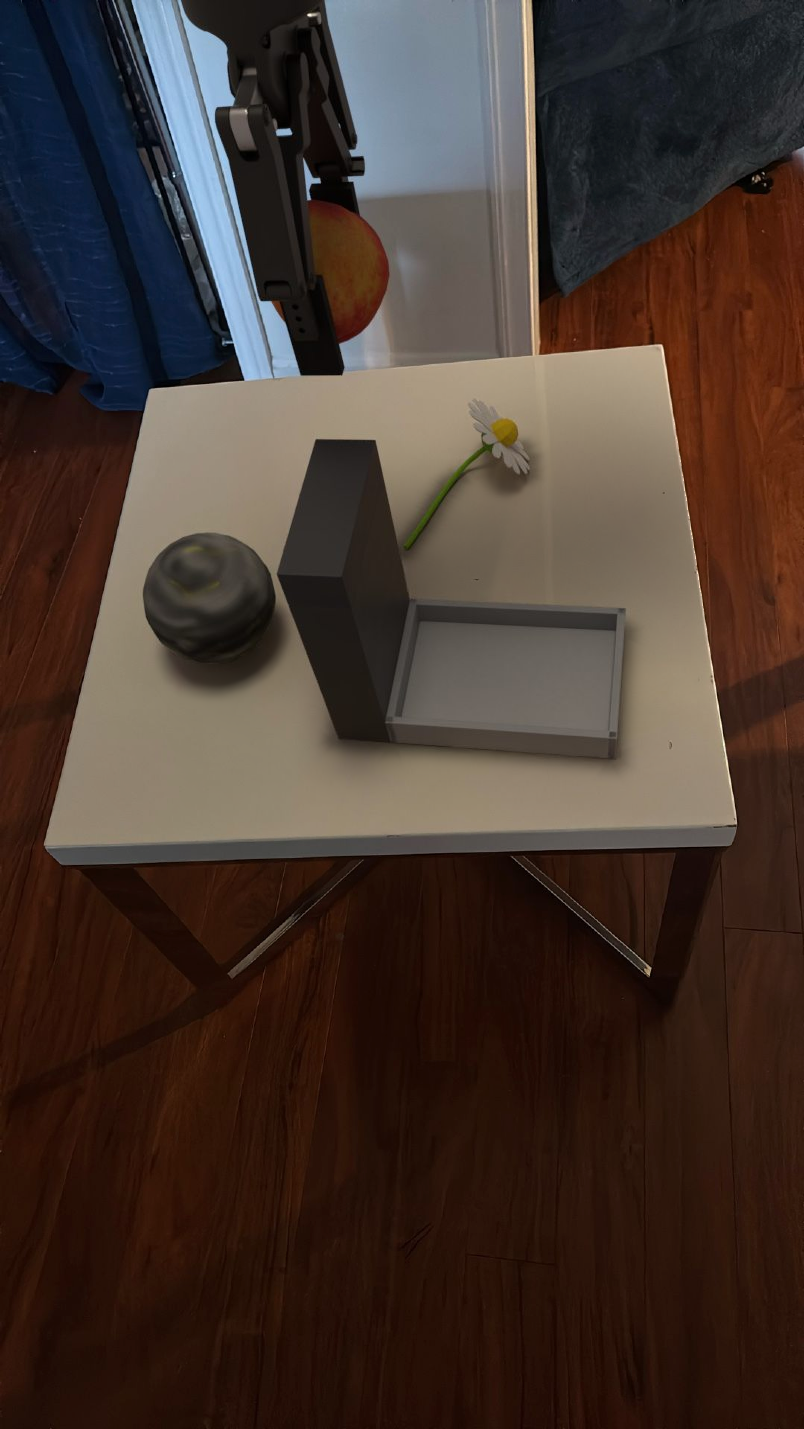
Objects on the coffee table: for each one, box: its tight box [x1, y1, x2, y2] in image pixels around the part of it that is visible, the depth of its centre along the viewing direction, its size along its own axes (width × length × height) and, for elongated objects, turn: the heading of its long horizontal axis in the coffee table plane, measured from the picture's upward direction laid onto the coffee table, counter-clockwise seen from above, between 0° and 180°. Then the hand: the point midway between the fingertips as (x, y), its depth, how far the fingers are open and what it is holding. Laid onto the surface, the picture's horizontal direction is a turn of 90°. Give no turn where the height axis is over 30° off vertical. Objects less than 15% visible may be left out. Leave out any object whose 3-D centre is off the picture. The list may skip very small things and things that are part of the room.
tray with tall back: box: [276, 438, 627, 760], centre depth 70 cm, size 20×11×19 cm, turn 80°
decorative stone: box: [142, 532, 277, 665], centre depth 79 cm, size 10×10×10 cm
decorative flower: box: [403, 397, 530, 550], centre depth 86 cm, size 8×6×15 cm
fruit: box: [270, 199, 390, 345], centre depth 64 cm, size 8×8×8 cm
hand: (337, 323), depth 67 cm, fingers closed on fruit, 8 cm apart
